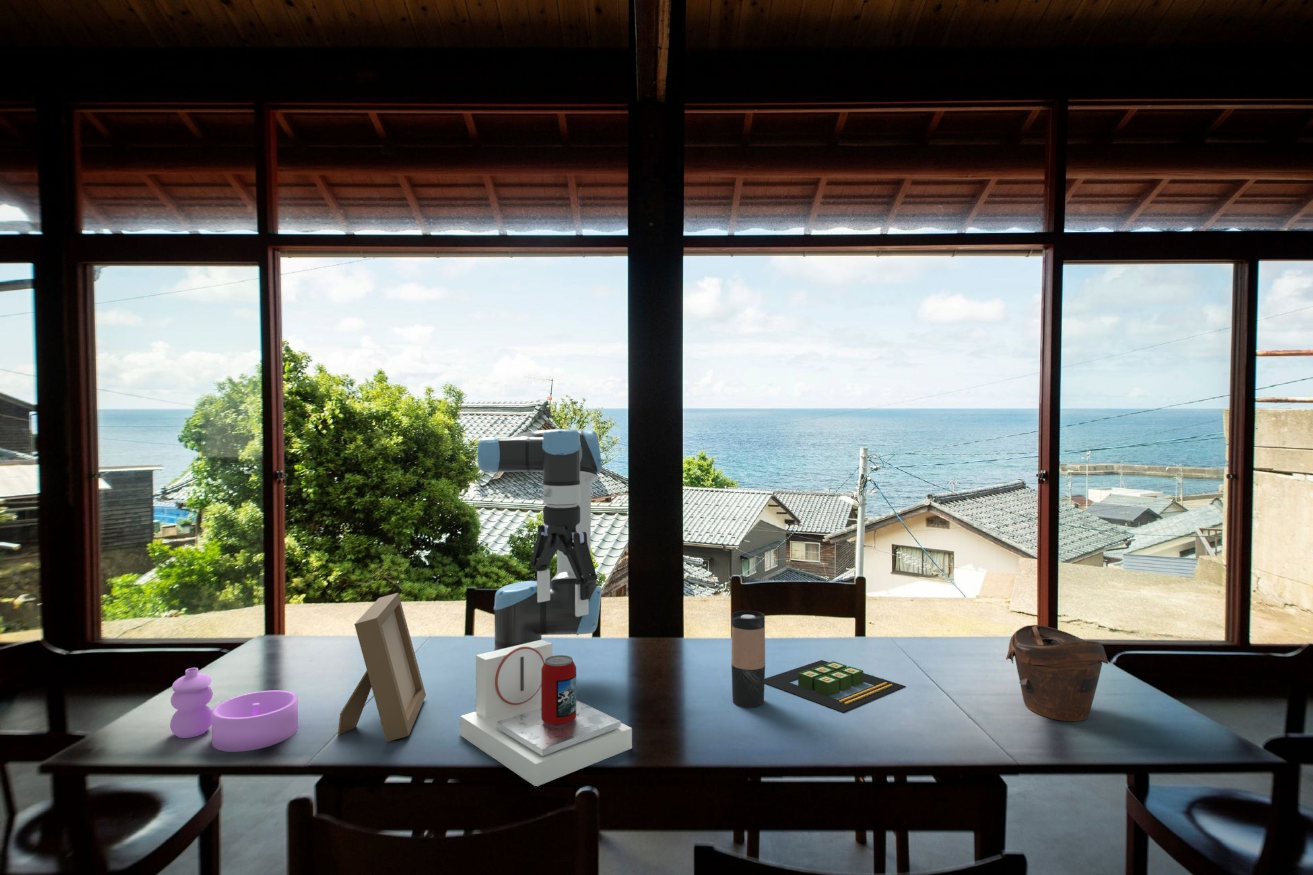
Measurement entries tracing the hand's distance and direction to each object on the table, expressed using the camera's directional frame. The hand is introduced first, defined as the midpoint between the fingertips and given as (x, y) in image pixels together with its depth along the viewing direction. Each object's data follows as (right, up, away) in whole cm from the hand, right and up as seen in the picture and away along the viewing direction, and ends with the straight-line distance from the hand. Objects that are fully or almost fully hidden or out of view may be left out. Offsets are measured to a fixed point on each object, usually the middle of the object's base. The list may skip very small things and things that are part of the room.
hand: (562, 607), depth 145 cm
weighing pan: (0, -21, -8) cm, 23 cm away
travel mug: (+40, -26, +17) cm, 51 cm away
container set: (-67, -26, 0) cm, 72 cm away
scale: (-3, -26, -4) cm, 26 cm away
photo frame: (-39, -26, +6) cm, 47 cm away
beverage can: (0, -20, -8) cm, 22 cm away
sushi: (+62, -26, +28) cm, 73 cm away
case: (+108, -26, +12) cm, 112 cm away
